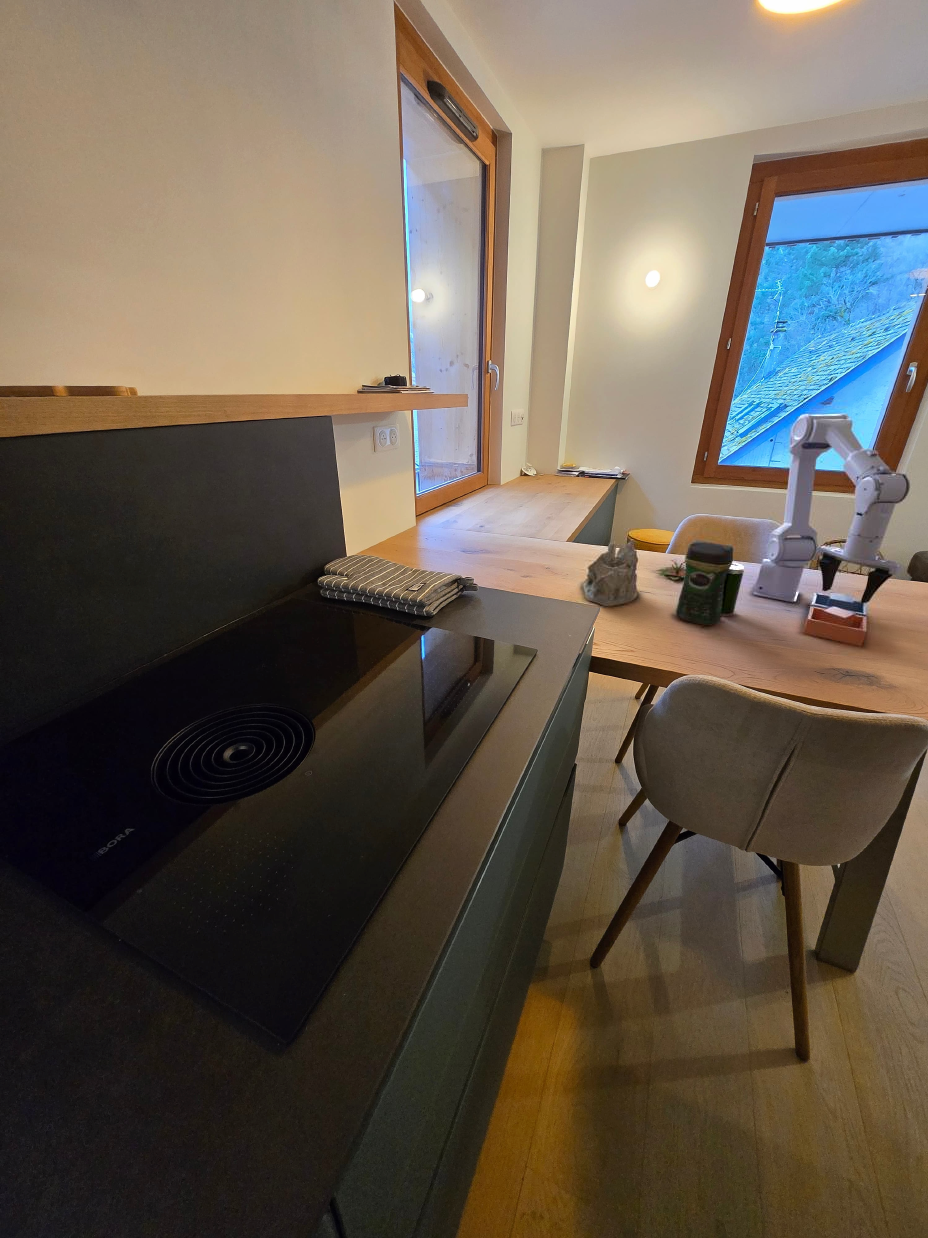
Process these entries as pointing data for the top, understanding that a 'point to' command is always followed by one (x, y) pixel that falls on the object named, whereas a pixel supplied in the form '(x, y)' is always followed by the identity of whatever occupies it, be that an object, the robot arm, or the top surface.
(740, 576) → the beer can
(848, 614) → the terracotta block
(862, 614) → the blue bin
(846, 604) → the blue block
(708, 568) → the coffee jar
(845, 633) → the terracotta bin
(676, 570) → the lily flower
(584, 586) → the grey jagged hollow piece
